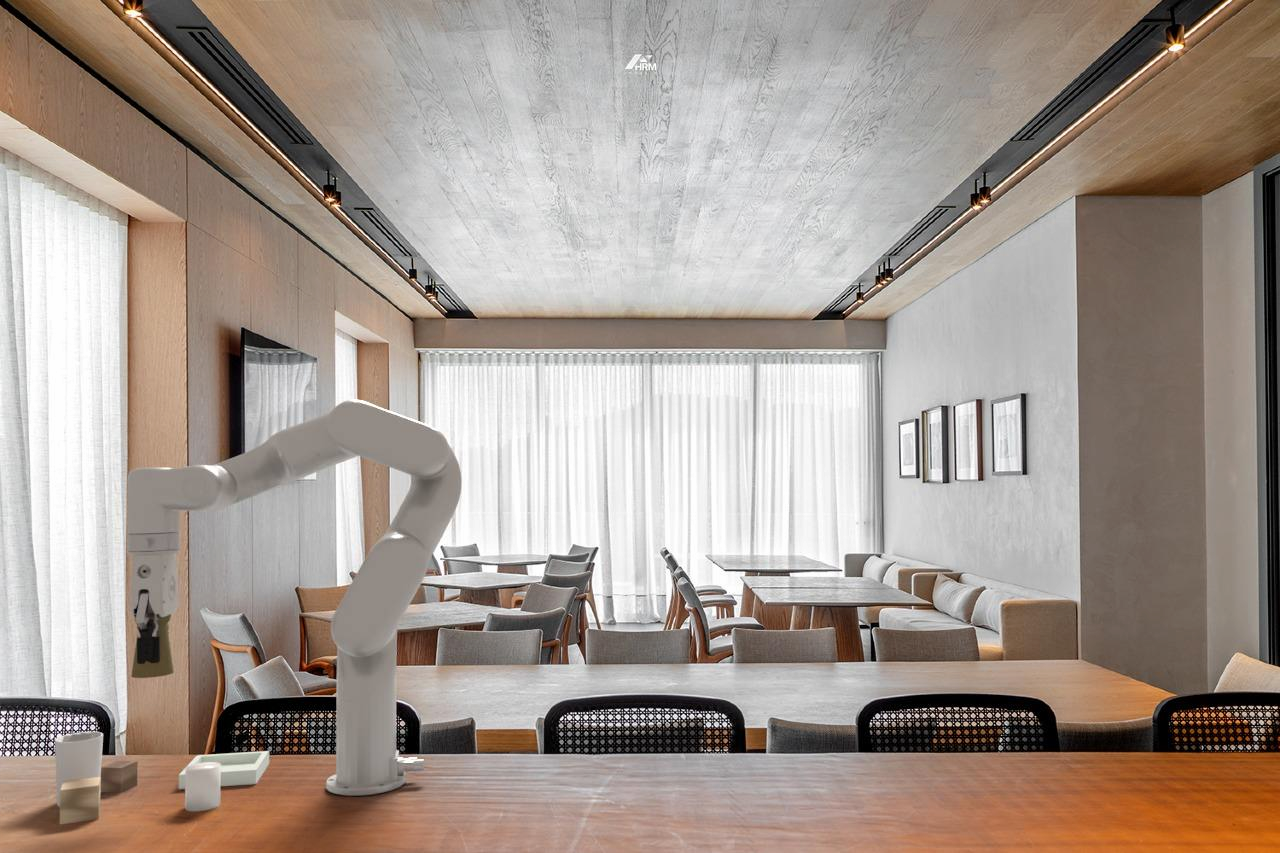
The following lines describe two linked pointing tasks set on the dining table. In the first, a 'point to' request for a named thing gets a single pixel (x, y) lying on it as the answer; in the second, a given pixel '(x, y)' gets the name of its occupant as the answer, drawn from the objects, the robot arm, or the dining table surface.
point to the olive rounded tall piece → (165, 661)
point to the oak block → (80, 800)
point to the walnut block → (118, 776)
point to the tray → (234, 767)
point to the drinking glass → (77, 757)
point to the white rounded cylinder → (202, 786)
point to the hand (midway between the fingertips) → (153, 659)
